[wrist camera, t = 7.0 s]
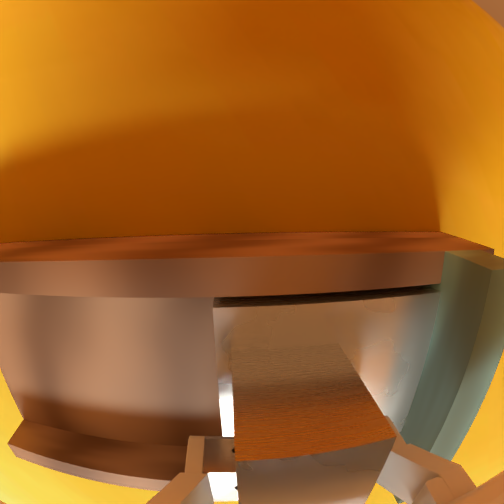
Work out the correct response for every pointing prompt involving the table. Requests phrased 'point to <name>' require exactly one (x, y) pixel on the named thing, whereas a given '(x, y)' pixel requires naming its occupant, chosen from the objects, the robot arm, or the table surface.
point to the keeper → (318, 387)
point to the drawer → (212, 336)
